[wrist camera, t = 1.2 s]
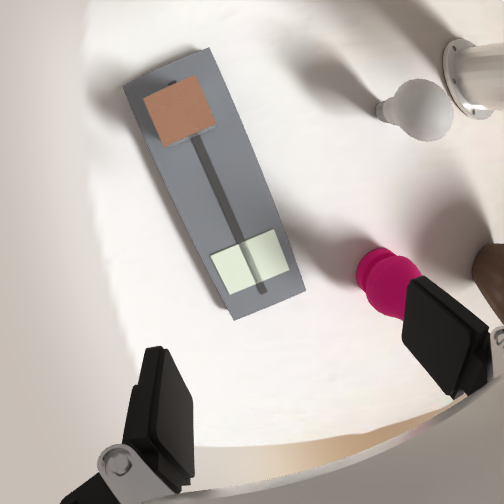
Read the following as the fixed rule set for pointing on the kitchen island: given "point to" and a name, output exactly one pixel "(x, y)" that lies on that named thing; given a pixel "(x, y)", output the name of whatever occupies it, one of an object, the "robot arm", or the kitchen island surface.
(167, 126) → the fader knob
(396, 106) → the lightbulb
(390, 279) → the pepper mill
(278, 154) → the kitchen island surface
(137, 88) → the fader panel
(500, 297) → the plant pot
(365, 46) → the kitchen island surface
